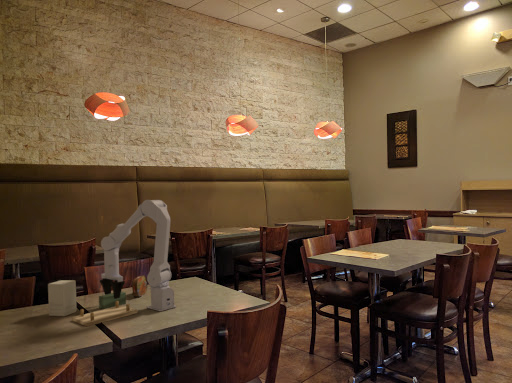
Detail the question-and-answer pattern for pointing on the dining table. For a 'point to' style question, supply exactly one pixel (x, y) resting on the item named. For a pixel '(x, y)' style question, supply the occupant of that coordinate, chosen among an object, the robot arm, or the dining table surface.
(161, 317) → the dining table surface
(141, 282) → the tin
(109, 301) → the board block
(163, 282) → the robot arm
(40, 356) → the dining table surface
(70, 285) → the supplement box
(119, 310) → the base plate
